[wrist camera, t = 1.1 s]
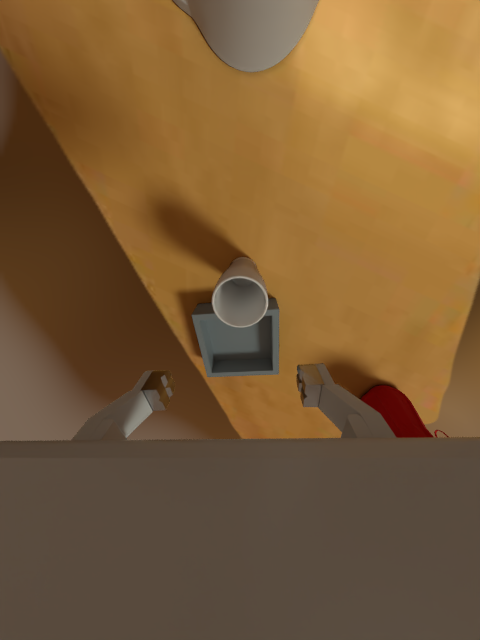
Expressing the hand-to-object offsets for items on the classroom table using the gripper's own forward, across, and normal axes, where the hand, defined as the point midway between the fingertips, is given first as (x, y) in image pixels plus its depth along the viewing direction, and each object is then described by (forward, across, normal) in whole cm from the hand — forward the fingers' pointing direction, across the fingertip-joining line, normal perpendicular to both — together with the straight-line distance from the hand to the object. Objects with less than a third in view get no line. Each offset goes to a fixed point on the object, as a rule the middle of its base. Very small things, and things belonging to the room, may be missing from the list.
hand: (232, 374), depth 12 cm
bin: (+26, +2, +14) cm, 29 cm away
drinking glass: (+26, 0, 0) cm, 26 cm away
